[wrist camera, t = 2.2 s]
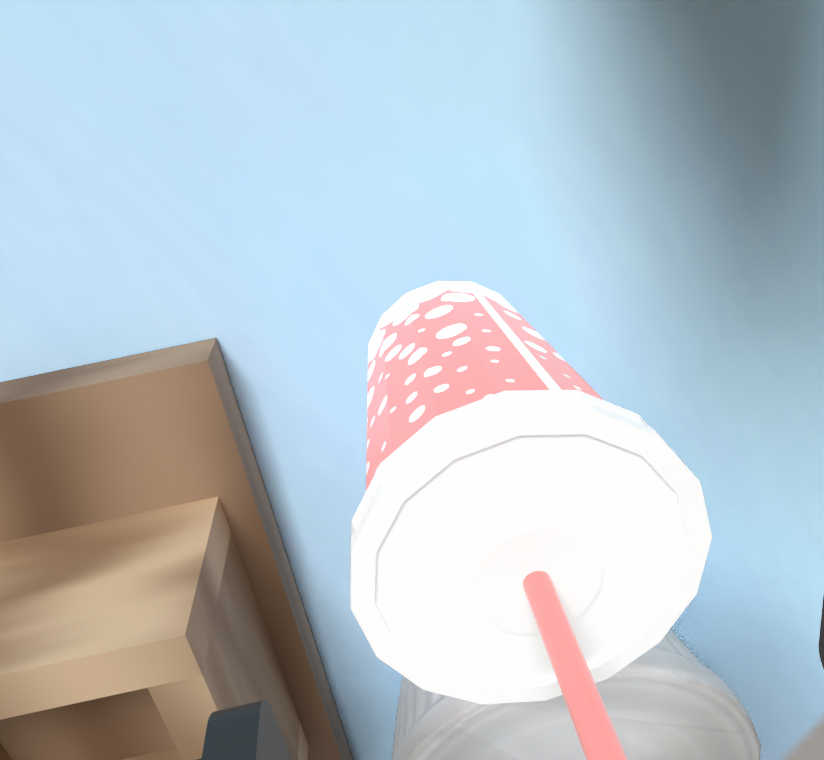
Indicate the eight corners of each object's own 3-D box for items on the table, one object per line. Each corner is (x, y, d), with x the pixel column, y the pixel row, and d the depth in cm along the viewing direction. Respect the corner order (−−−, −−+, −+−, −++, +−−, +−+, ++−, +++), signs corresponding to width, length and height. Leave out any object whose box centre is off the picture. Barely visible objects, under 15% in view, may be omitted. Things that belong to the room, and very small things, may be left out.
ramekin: (337, 753, 26) (340, 909, 22) (433, 511, 22) (462, 639, 17) (604, 786, 29) (659, 932, 24) (735, 574, 25) (833, 701, 20)
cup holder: (216, 337, 19) (166, 469, 13) (357, 772, 27) (366, 976, 21) (-236, 431, 18) (-497, 609, 13) (41, 842, 26) (-40, 1069, 20)
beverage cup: (319, 436, 20) (309, 1066, 8) (364, 229, 18) (454, 653, 5) (518, 467, 22) (789, 1056, 9) (585, 277, 19) (1082, 714, 7)
